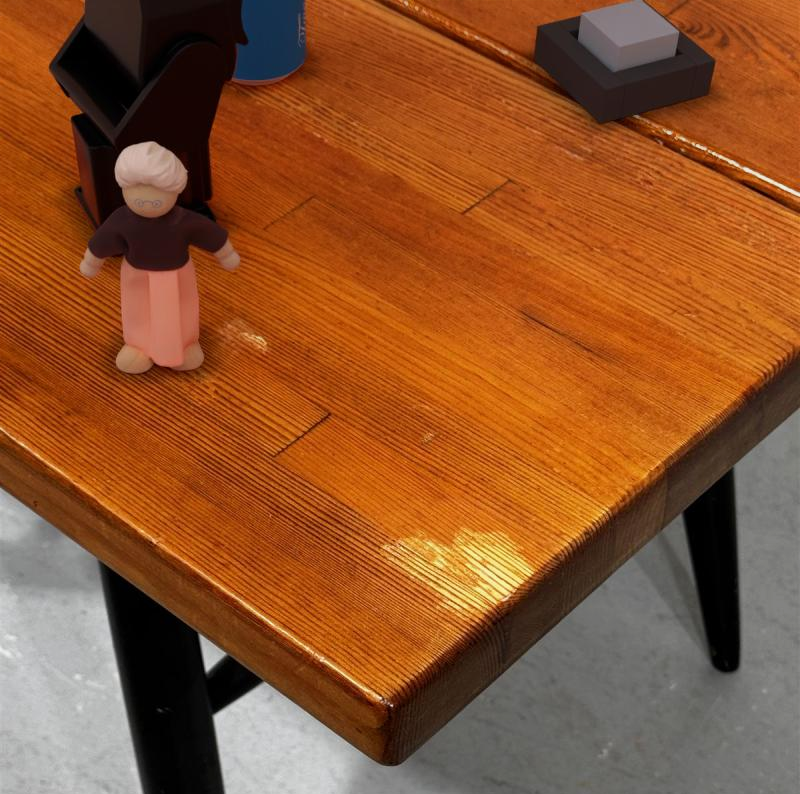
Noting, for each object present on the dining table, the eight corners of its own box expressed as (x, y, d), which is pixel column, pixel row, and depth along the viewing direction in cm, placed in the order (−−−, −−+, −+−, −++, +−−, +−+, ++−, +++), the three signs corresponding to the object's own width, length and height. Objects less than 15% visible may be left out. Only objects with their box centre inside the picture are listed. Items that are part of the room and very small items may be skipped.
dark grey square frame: (600, 124, 91) (605, 89, 89) (533, 60, 96) (536, 25, 94) (709, 94, 94) (716, 59, 92) (638, 33, 99) (643, -1, 97)
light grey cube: (610, 103, 93) (619, 46, 90) (573, 68, 96) (581, 12, 93) (669, 87, 94) (679, 31, 91) (631, 53, 97) (640, -2, 94)
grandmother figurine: (102, 392, 73) (68, 182, 64) (91, 343, 76) (56, 134, 67) (252, 366, 75) (239, 158, 66) (236, 319, 77) (222, 112, 68)
